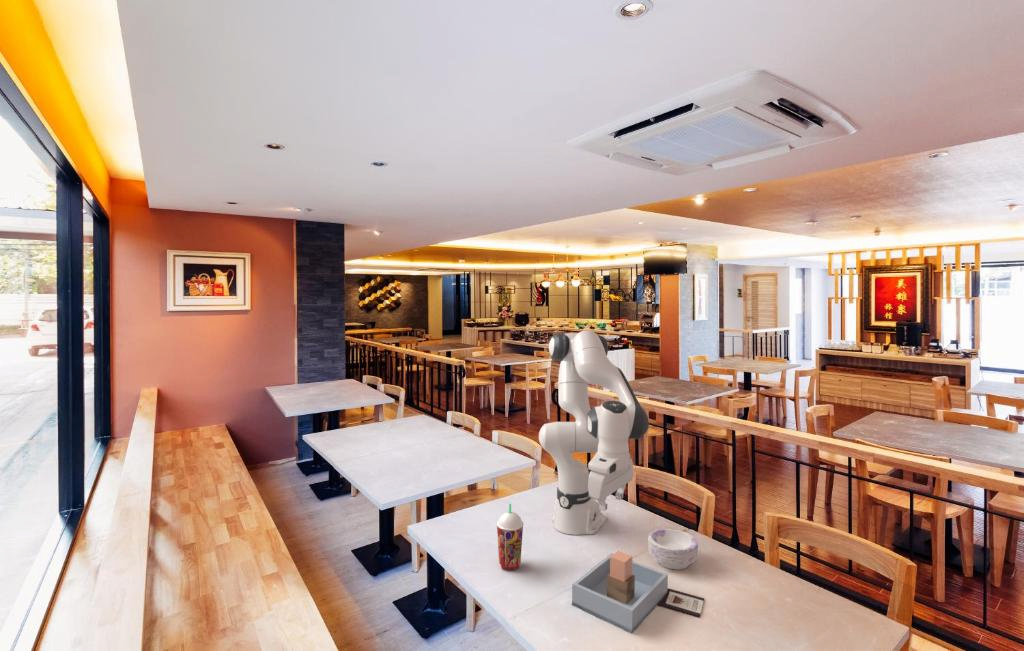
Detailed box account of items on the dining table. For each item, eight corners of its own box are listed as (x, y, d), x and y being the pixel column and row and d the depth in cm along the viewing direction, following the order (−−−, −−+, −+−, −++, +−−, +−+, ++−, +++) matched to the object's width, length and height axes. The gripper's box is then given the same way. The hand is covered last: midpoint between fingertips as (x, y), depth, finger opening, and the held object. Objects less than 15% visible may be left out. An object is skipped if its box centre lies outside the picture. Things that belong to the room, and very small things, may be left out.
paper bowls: (653, 546, 171) (654, 523, 171) (700, 557, 164) (701, 533, 164) (642, 567, 158) (643, 542, 158) (693, 580, 151) (694, 555, 150)
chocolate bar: (640, 580, 150) (704, 598, 141) (640, 583, 150) (703, 601, 141) (632, 596, 142) (699, 616, 133) (632, 599, 142) (699, 619, 133)
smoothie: (520, 574, 153) (520, 510, 152) (493, 571, 155) (494, 508, 154) (525, 560, 161) (525, 499, 160) (499, 557, 163) (500, 497, 162)
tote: (611, 571, 155) (611, 553, 155) (667, 594, 144) (667, 574, 143) (571, 605, 138) (572, 584, 138) (631, 633, 127) (632, 610, 126)
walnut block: (615, 588, 145) (615, 568, 144) (634, 596, 141) (634, 575, 141) (606, 595, 141) (607, 575, 141) (626, 604, 137) (626, 583, 137)
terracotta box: (617, 569, 144) (617, 550, 144) (631, 575, 141) (632, 556, 141) (609, 575, 140) (610, 556, 140) (624, 581, 138) (624, 562, 137)
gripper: (620, 446, 155) (618, 489, 156) (584, 465, 139) (583, 513, 141) (639, 451, 151) (637, 495, 152) (604, 471, 135) (603, 520, 137)
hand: (611, 504), depth 146 cm, fingers open, 8 cm apart
